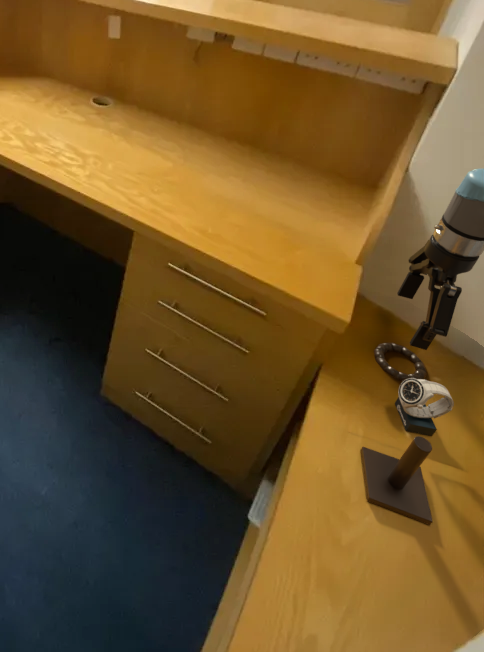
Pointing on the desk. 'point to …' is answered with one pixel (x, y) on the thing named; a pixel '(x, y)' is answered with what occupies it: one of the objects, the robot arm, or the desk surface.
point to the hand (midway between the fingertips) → (410, 320)
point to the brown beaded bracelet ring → (386, 347)
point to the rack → (398, 480)
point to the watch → (421, 405)
